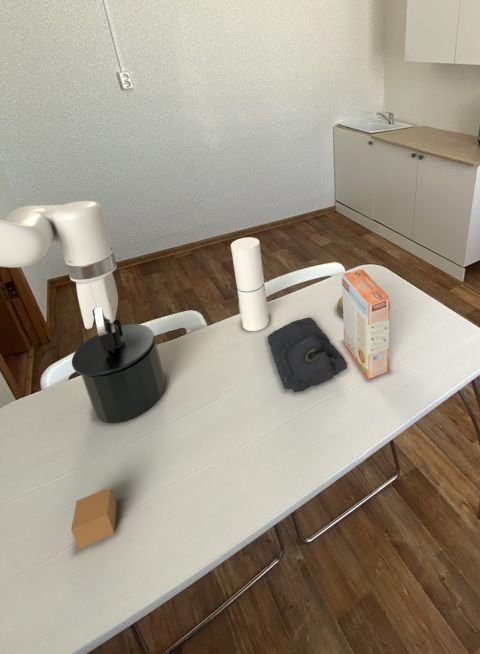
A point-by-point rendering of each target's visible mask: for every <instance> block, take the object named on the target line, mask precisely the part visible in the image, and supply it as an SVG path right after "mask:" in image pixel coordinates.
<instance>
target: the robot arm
mask: <svg viewBox="0 0 480 654" xmlns="http://www.w3.org/2000/svg"><path fill="white" fill-rule="evenodd" d="M55 242H57V243H59V247H60V249H61V253H62V256H63V259H64V262H65V266H66V270H67V273H68V276H69V279H70V281H72V282H75V288H76V294H77V299H78V304H79V309H80V314H81V318H82V321H83V326H84V328H85V329H86V330H90V329H92V328H93V325H94V323H95V327H96V331H97V334H98V336H99V339H100V342H101V346H102V349H103V351H109V350H112V349H116V348H120V347H121V340H120V337H122V335H123V332H122V328H121V326H122V325H121V321H120V319H119V315H118V305H119V294H118V289H117V284H116V281H115V277H114V274H113V273H114V271H116V269H117V262H116V258H115V254H114V251H113V246H112V242H111V238H110V234H109V229H108V226H107V221H106V218H105V214H104V211H103V207H102V206H101V204H99V203H98V202H97V201H93V200H78V201H72V202H69V203H65V204H38V205H37V204H36V205H34V204H33V205H24V206H21V207H18V208H15V209H14V210H12V211H11V212H9V213H8V214H7V215H6V217H5V218H4V219H1V218H0V268H12V269H13V268H14V269H15V268H25V267H29V266H31V265H34V264H36V263H37V262H39V261H40V260H42V259H43V258H44V257H45V256H46V255H47V253H48V252H49V249H50V247H51V244H53V243H55ZM114 321H116V322H117V326H118V329H117V330H116V329H115V325H114ZM109 323H110V326H107V327H106V324H109ZM118 330H119V333H118ZM119 334H120V337H119Z"/></svg>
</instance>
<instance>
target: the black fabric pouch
mask: <svg viewBox="0 0 480 654" xmlns="http://www.w3.org/2000/svg"><path fill="white" fill-rule="evenodd" d="M267 340H268V344H269V347H270V350H271V354H272V355H271V356H272V358H273V362H274V364H275V367H276V368H277V372H278V375H279V378H280V381H281V383H282V386H283V388H284V389H286V390H290V389H291V390H292V391H293V392H294V393H300V392H304V391H305V390H307V389H309V388H311V387H314V386H318V385H319V386H320V385H321V384H325V382H328V381H330V380H332V379H333V377H335V376H337V375H338V374H339V373H341V372H342V371H344V370H346V369H347V362H346V360H345V358H344V357H343V355H341V353H340V351H338V349H337V348H336V347H335V346H334V345H333V344H332V343H331V342H330V339H329V338H328V335H326V334H325V332H323V330H322V329H321V328H320V326H319V325H318V324H317V323H316V321H315V320H314V318H312V317H309V316H308V317H304V318H300V319H297V320H293V321H290V322H289V323H288V324H285V325H283V326H282V327H280V328H278V329H276V330H274V331H273V332H271V333H269V334H268V335H267ZM332 358H333V359H334V360H332Z"/></svg>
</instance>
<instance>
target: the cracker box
mask: <svg viewBox="0 0 480 654" xmlns="http://www.w3.org/2000/svg"><path fill="white" fill-rule="evenodd" d="M341 283H342V287H341V288H342V296H343V317H342V319H343V343H344V345H345V347H346V348H347V350H348V352H349V353H350V354H351V356H352V358H353V359H354V361H355V362H356V364H357V365H358V367H359V368H360V370H361V371H362V373H363V375H364V377H365V379H367V380H371V379H373V378H376V377H379V376H381V375H384V374H386V373H389V361H390V360H389V358H390V357H389V356H390V355H389V353H390V316H391V315H390V314H391V313H390V310H391V308H390V307H391V298H390V296H389V295H388V294H387V293H386V292H385V291H384V290H383V289H382V288H381V286H379V285H378V284H377V282H375V281H374V280H373V279H372V278H371V276H369V275H368V274H367V272H366V271H365V270H364V268H363V269H356V270H353V271H349V272H345V273H342V274H341Z"/></svg>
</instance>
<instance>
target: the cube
mask: <svg viewBox="0 0 480 654" xmlns="http://www.w3.org/2000/svg"><path fill="white" fill-rule="evenodd" d="M117 506H118V505H117V502H116V499H115V497H114V493H113V490H112V488H111V486H109V487H107V488H104V489H101V490H100V491H97V492H94V493H92V494H90V495H87V496H84V497H82V498H80V499H78V500H76V502H75V507H74V513H73V518H72V519H73V520H72V522H71V528H70V532H71V534H72V536H73V539H74V541H75V543H76V545H77V547H78V549H79V550H81V549H83V548H86V547H88V546H90V545H92V544H94V543H96V542H99V541H101V540H103V539H105V538H108V537H110V536H112V535H114V534H115V528H116V518H117V508H118V507H117Z"/></svg>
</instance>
